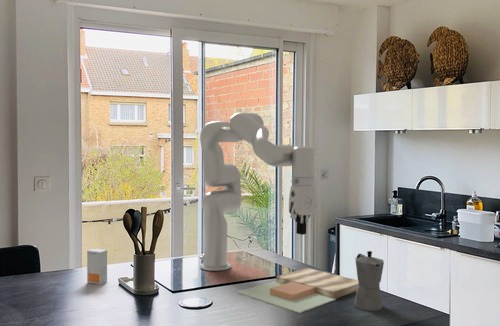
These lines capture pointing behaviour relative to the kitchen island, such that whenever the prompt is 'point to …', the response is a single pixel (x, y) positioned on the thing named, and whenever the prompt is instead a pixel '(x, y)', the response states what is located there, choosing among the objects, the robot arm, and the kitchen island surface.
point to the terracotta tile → (292, 291)
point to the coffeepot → (368, 282)
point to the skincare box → (97, 266)
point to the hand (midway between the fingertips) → (301, 233)
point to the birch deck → (321, 282)
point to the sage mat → (297, 305)
